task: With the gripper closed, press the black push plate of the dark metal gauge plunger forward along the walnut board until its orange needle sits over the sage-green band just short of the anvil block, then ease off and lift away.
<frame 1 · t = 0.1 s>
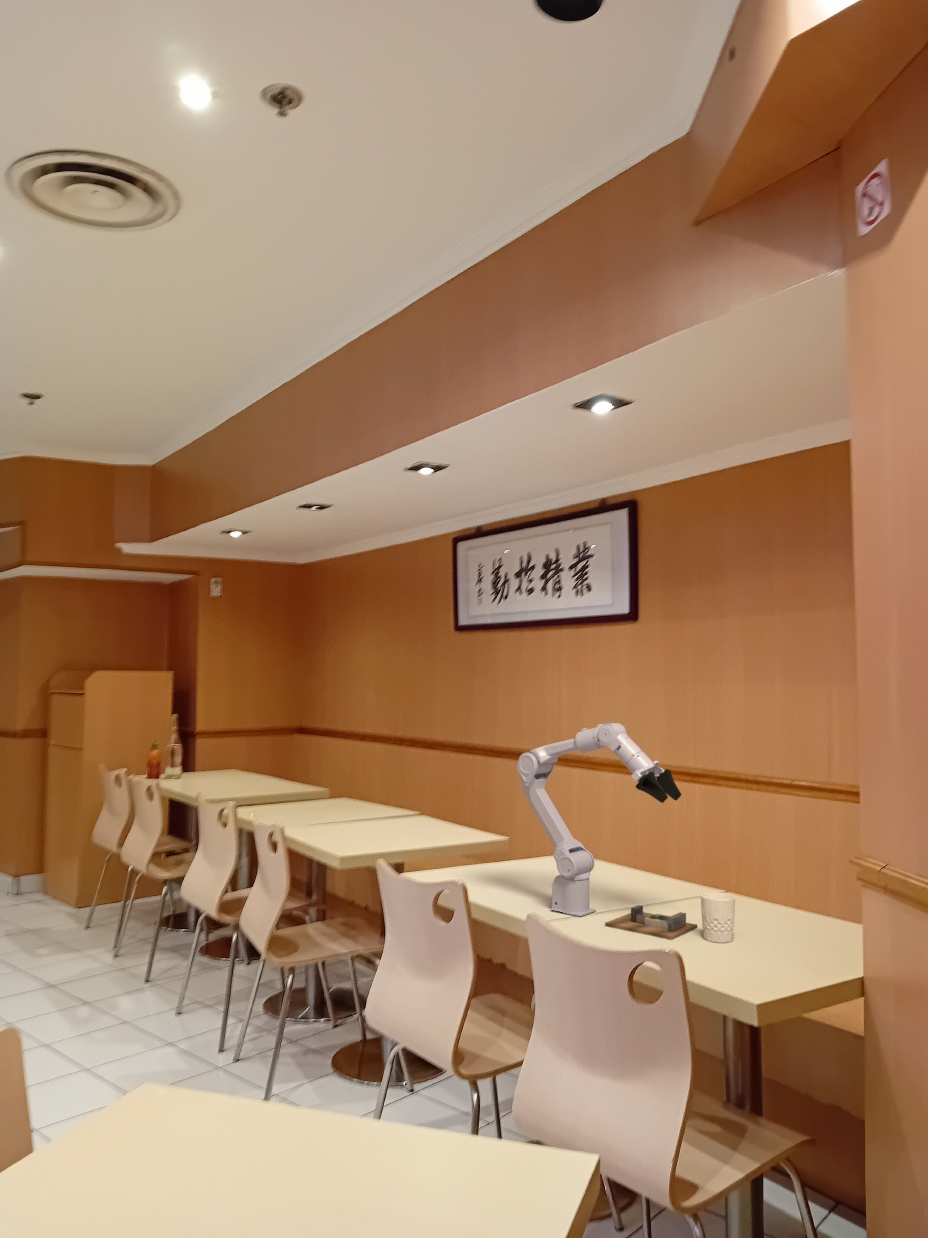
hand: (672, 799, 223), 32 cm above the table, tool tilted 50°, fingers open, 7 cm apart
walnut board: (651, 927, 224), on the table
white cup: (718, 940, 214), on the table
gauge body: (665, 920, 222), on the walnut board, point 2 cm above the table
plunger: (644, 916, 224), point 3 cm above the table, slide at 0.0 cm
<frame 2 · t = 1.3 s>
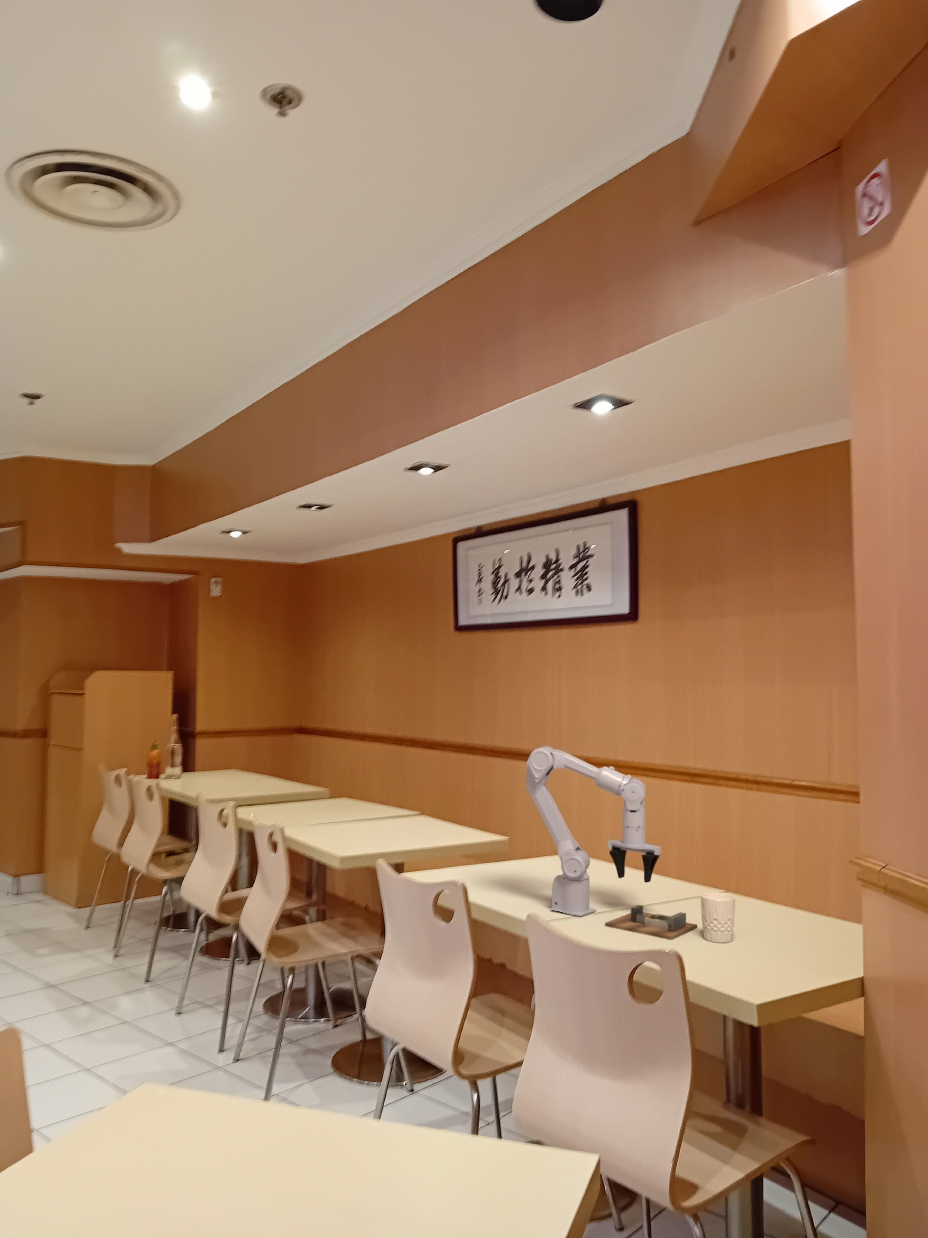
hand: (634, 879, 234), 9 cm above the table, tool pointing down, fingers open, 7 cm apart
nothing on the table moved.
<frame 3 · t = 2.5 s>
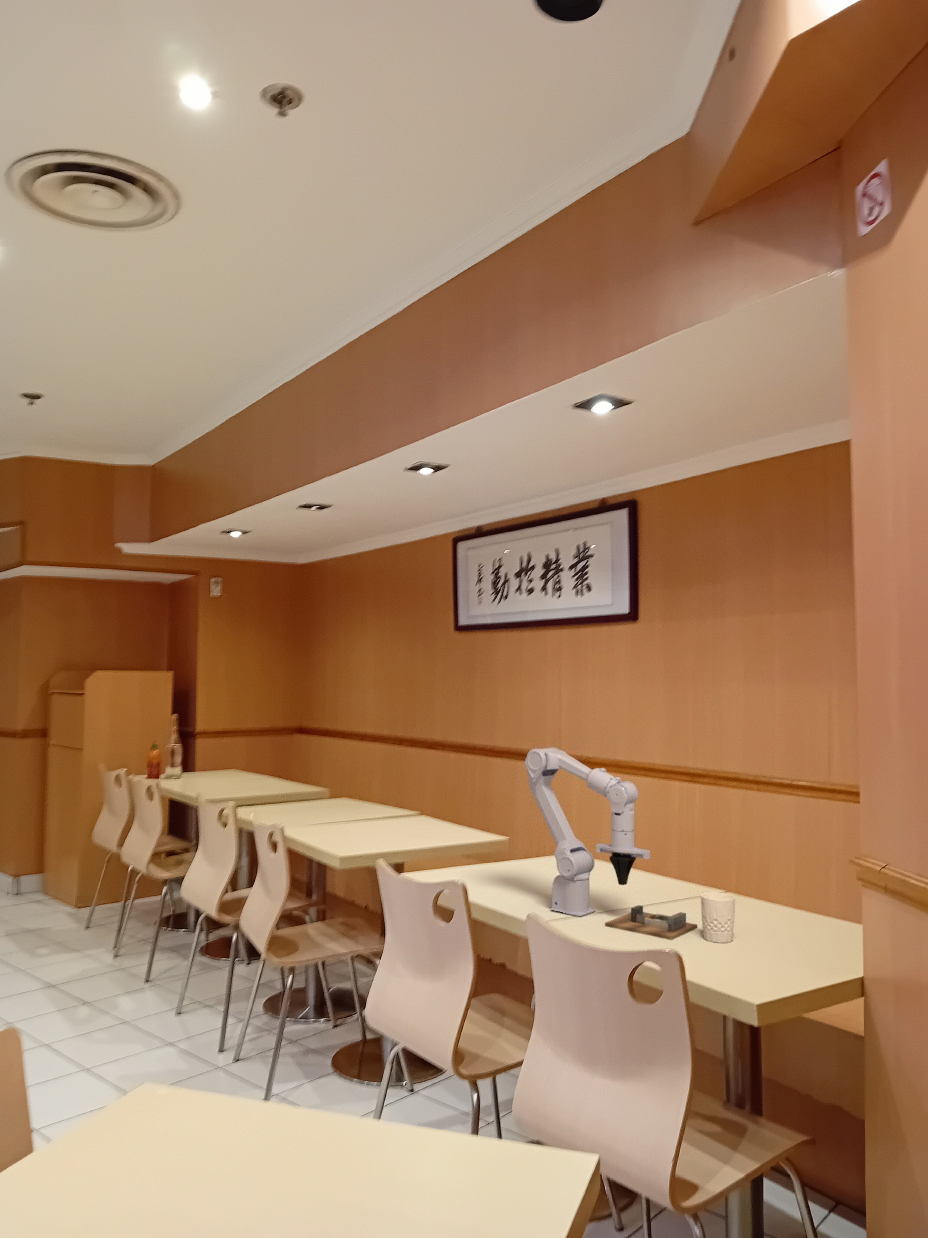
hand: (622, 884, 230), 9 cm above the table, tool pointing down, fingers closed
nothing on the table moved.
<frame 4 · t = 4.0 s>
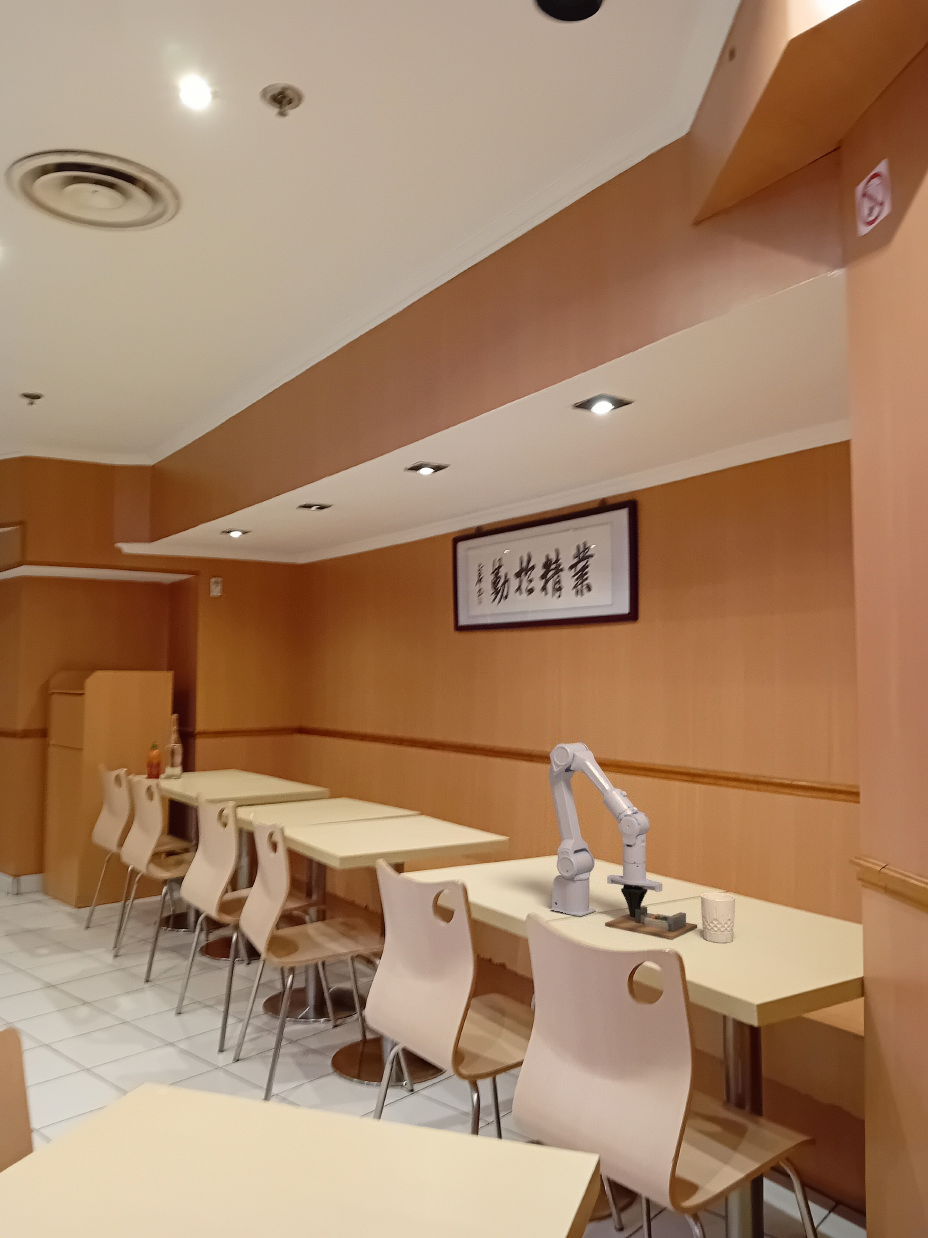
hand: (634, 916, 227), 2 cm above the table, tool pointing down, fingers closed
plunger: (648, 917, 224), point 3 cm above the table, slide at 1.2 cm, touching gripper
everything else where it was.
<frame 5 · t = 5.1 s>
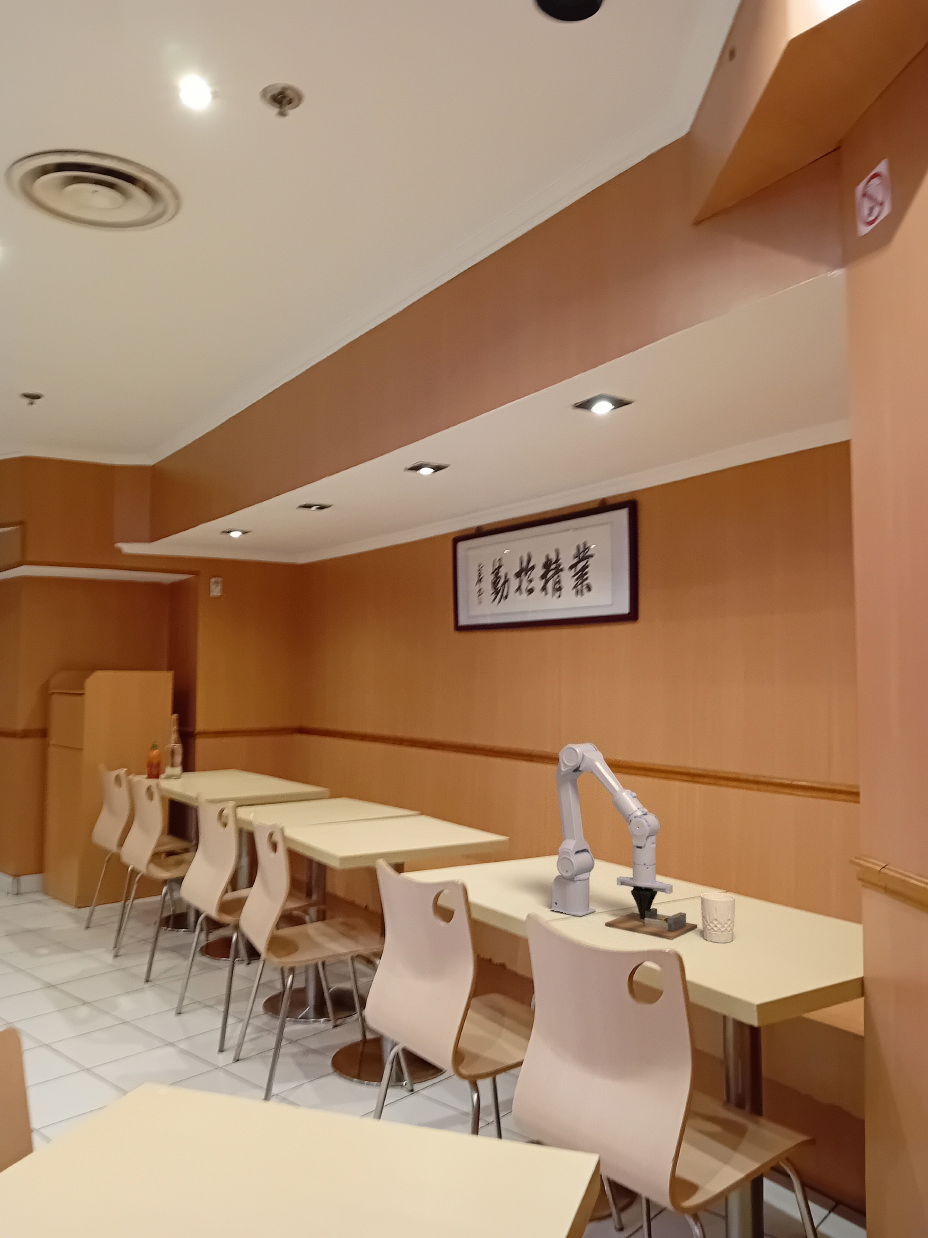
hand: (644, 918, 225), 2 cm above the table, tool pointing down, fingers closed
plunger: (658, 919, 222), point 3 cm above the table, slide at 3.9 cm, touching gripper
everything else where it was.
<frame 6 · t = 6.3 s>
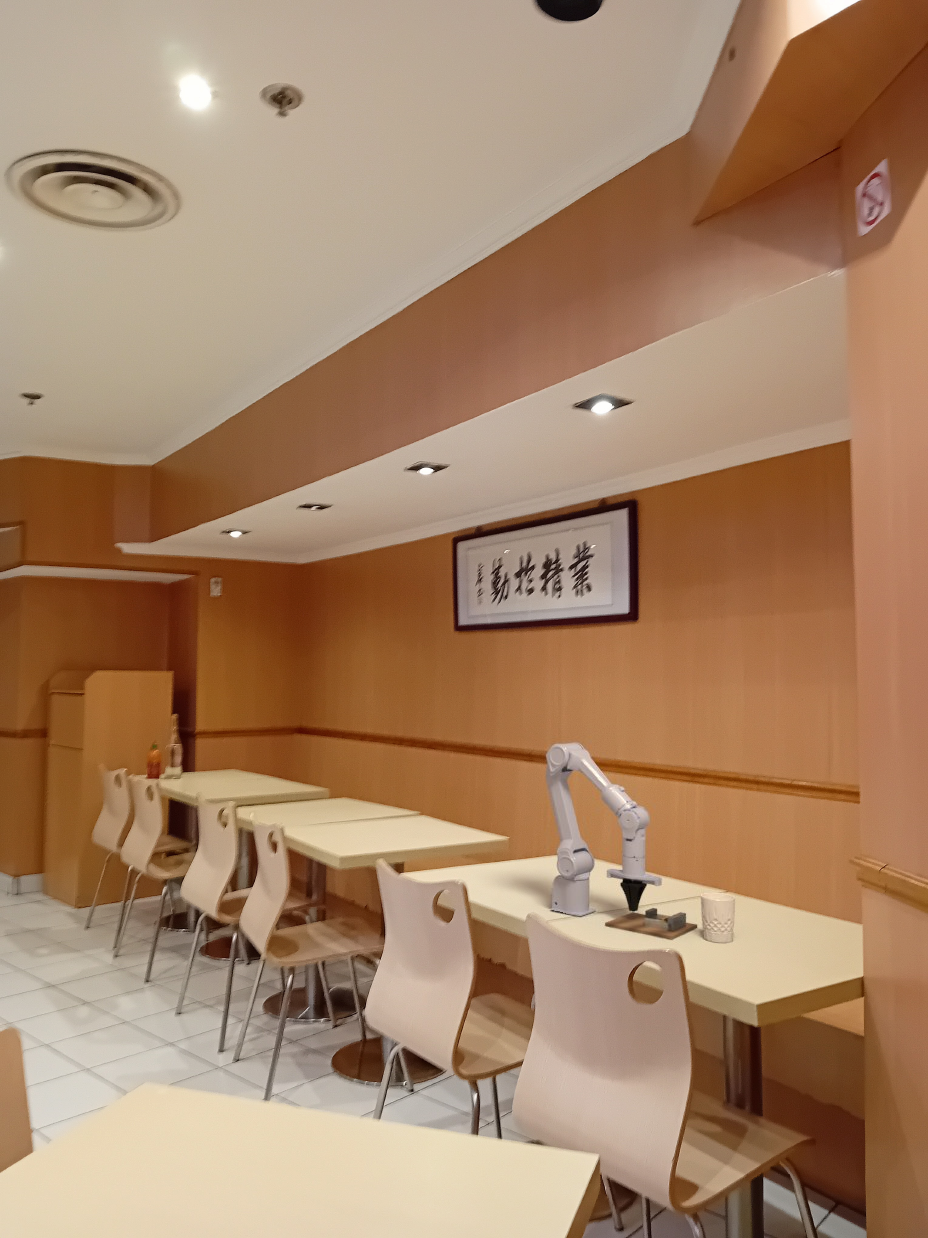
hand: (633, 910, 227), 3 cm above the table, tool pointing down, fingers closed
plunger: (658, 919, 222), point 3 cm above the table, slide at 3.9 cm
everything else where it was.
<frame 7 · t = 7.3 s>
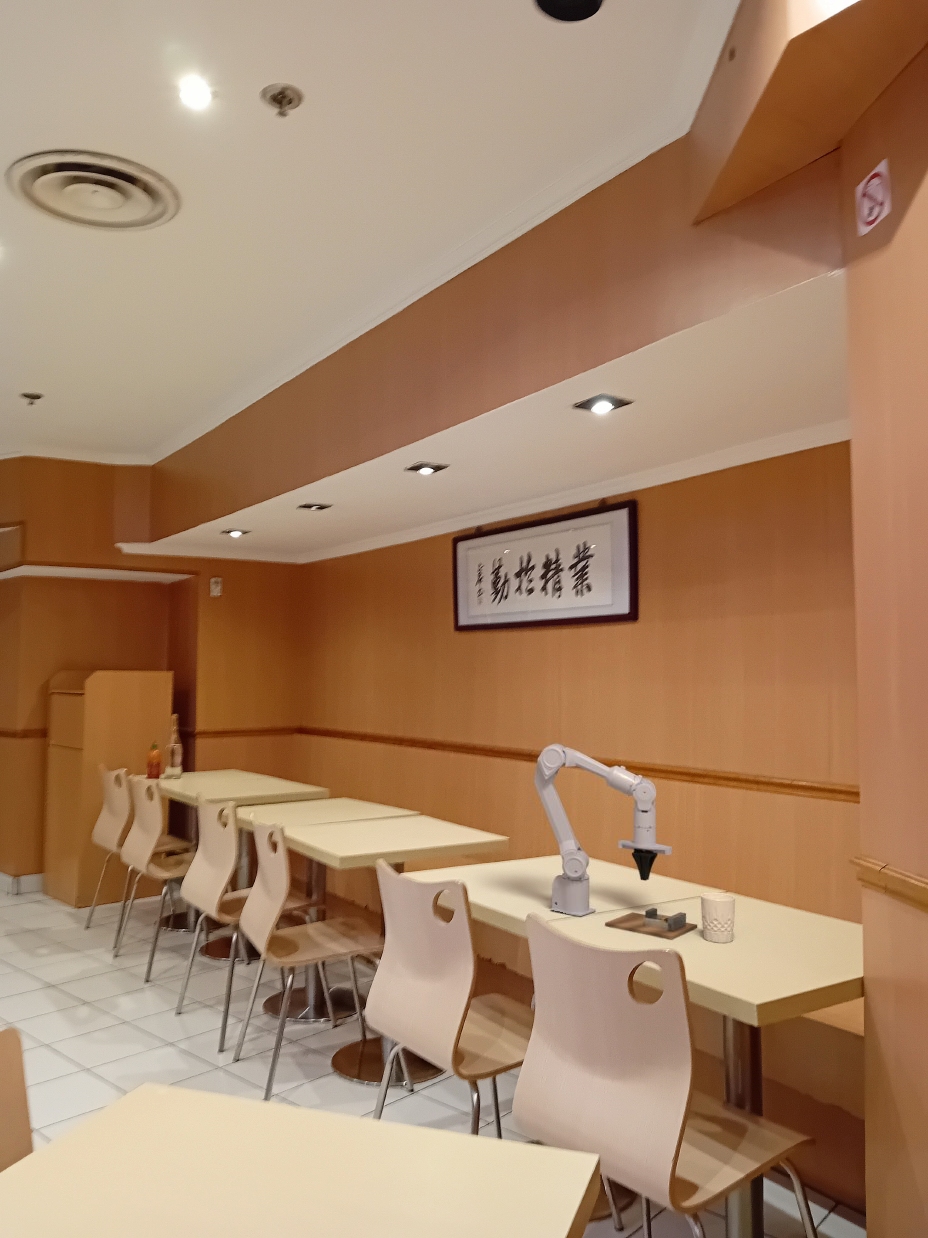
hand: (644, 879, 235), 9 cm above the table, tool pointing down, fingers closed
nothing on the table moved.
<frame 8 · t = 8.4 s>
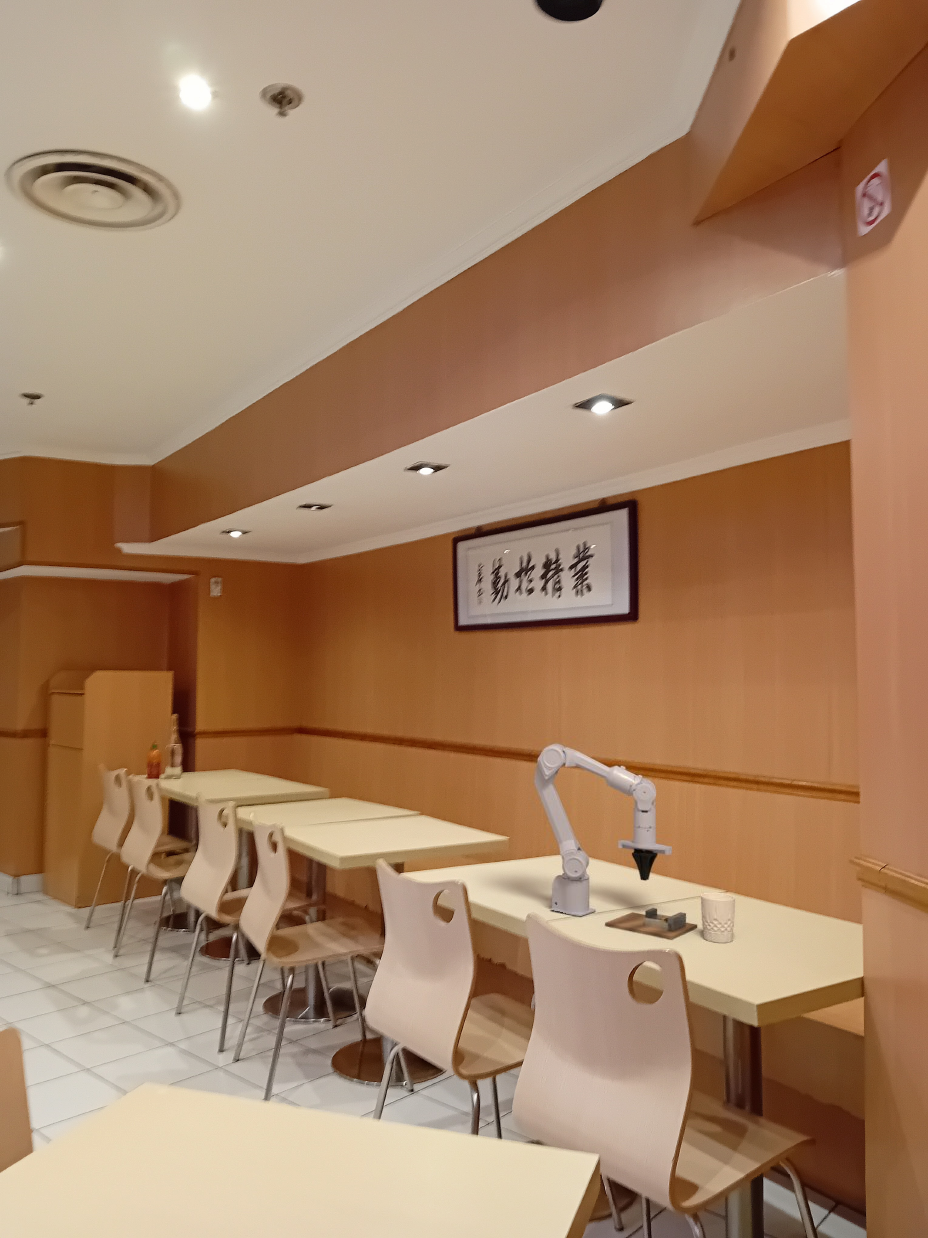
hand: (644, 879, 235), 9 cm above the table, tool pointing down, fingers closed
nothing on the table moved.
at the end: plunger slide at 3.9 cm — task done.
